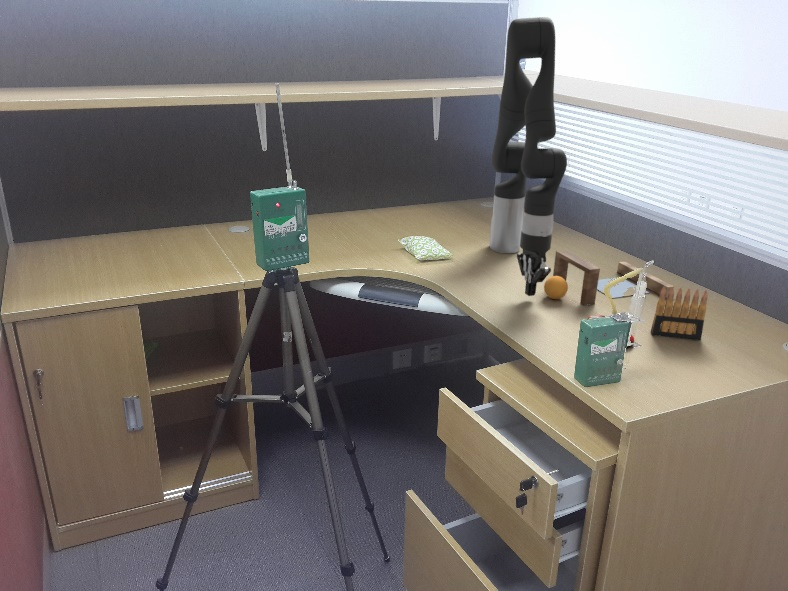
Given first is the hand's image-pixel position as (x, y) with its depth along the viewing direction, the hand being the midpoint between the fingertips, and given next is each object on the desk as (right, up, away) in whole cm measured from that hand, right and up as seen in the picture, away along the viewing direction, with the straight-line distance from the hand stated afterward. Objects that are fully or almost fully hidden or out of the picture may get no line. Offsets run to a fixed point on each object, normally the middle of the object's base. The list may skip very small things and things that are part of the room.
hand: (530, 294), depth 170 cm
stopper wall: (+34, +3, +12) cm, 36 cm away
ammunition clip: (+30, -10, -17) cm, 36 cm away
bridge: (+12, 0, +5) cm, 13 cm away
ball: (+7, +2, +1) cm, 7 cm away
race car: (+14, -10, -18) cm, 25 cm away
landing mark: (+25, +2, +9) cm, 27 cm away
